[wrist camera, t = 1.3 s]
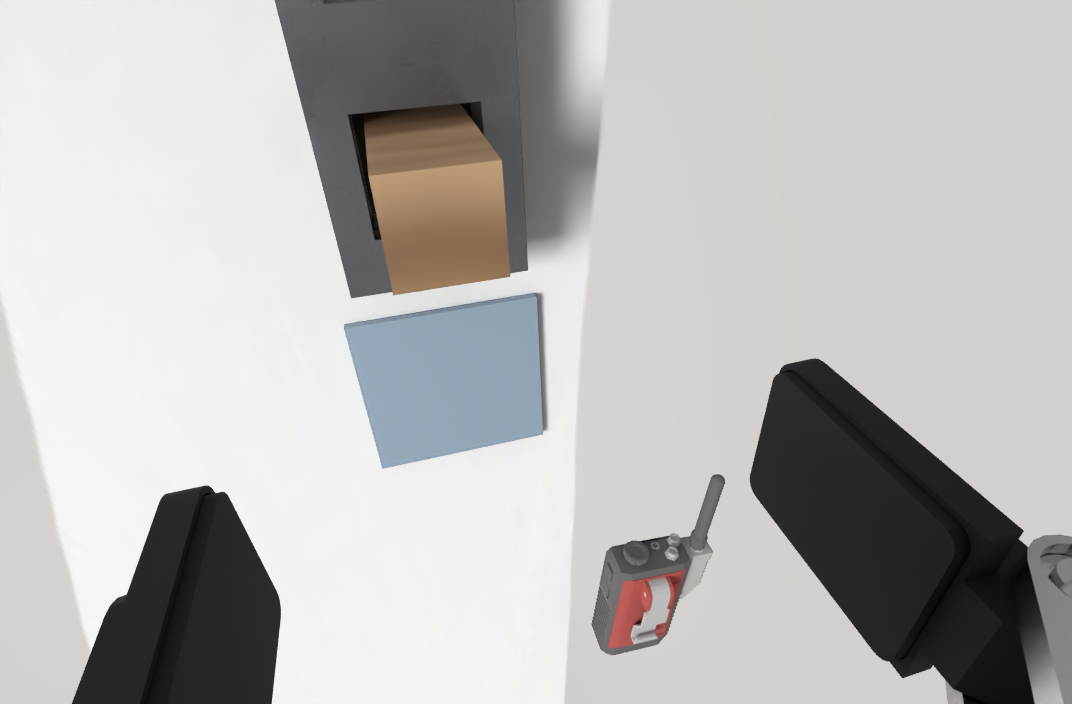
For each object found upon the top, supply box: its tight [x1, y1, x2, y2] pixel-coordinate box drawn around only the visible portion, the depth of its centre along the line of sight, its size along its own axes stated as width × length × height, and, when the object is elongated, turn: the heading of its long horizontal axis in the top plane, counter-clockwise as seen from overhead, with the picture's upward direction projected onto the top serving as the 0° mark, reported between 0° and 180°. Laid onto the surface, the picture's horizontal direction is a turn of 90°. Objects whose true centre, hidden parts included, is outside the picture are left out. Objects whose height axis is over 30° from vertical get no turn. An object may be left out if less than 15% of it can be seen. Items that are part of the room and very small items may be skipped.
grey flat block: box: [275, 0, 528, 298], centre depth 22 cm, size 18×8×3 cm, turn 2°
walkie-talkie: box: [592, 475, 725, 655], centre depth 47 cm, size 9×4×20 cm
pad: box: [344, 293, 543, 468], centre depth 33 cm, size 10×10×1 cm
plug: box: [363, 103, 510, 295], centre depth 22 cm, size 4×4×9 cm
